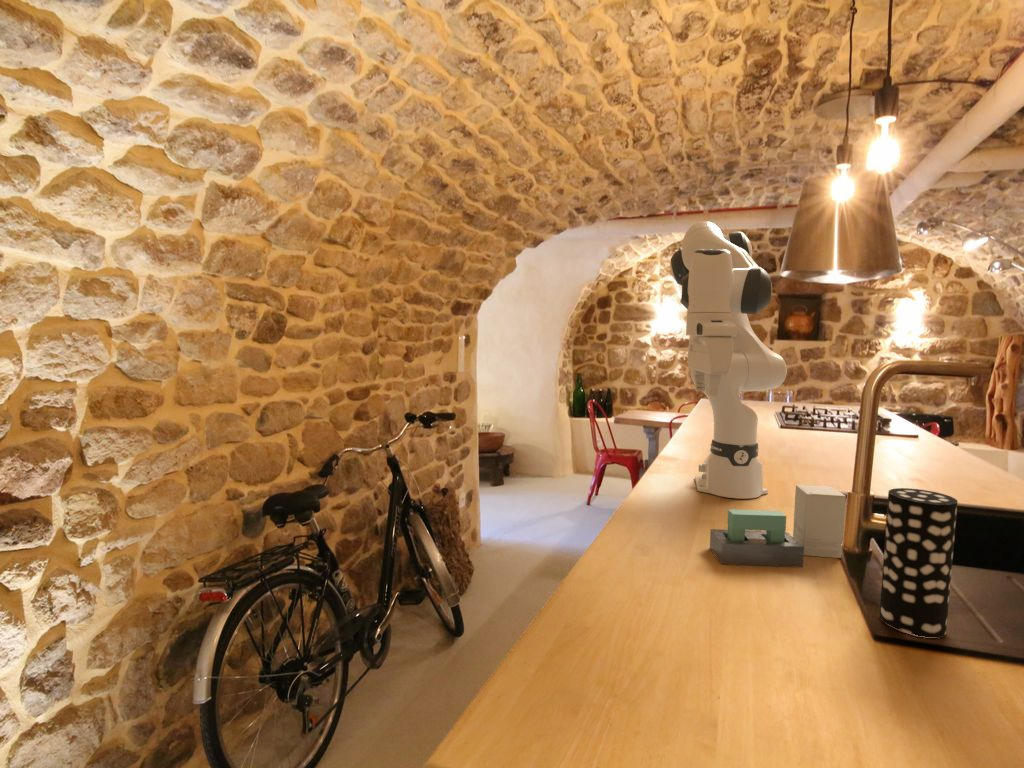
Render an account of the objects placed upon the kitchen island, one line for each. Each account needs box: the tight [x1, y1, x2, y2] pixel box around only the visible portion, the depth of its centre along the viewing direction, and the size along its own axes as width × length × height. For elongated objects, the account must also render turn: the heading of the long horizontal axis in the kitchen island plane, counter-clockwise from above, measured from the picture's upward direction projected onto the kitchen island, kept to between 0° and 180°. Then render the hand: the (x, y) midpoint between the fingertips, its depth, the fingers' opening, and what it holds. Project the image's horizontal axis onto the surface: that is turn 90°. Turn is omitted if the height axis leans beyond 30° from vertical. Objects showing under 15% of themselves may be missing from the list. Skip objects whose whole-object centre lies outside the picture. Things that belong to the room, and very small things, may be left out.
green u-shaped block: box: [726, 509, 787, 542], centre depth 110 cm, size 3×10×9 cm, turn 86°
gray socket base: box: [709, 528, 805, 568], centre depth 110 cm, size 8×15×4 cm, turn 86°
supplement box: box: [792, 484, 847, 559], centre depth 114 cm, size 7×7×13 cm
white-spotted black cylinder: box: [879, 487, 958, 638], centre depth 85 cm, size 8×8×20 cm
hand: (705, 393), depth 118 cm, fingers open, 8 cm apart
